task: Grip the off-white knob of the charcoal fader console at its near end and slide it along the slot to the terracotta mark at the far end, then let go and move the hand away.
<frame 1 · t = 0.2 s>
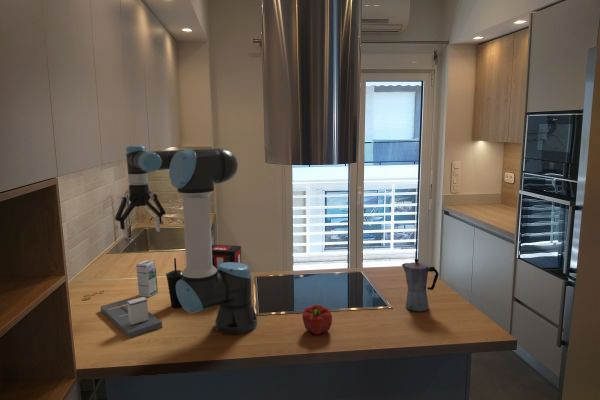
hand: (142, 234, 183), 28 cm above the counter, tool pointing down, fingers open, 13 cm apart
cleaning product box: (221, 292, 193), on the counter
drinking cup: (177, 306, 178), on the counter
syrup box: (148, 294, 190), on the counter
fader knob: (138, 310, 159), point 6 cm above the counter, slide at -9.0 cm
fader console: (130, 318, 167), on the counter
moka pot: (418, 308, 174), on the counter
vegetable: (317, 333, 154), on the counter
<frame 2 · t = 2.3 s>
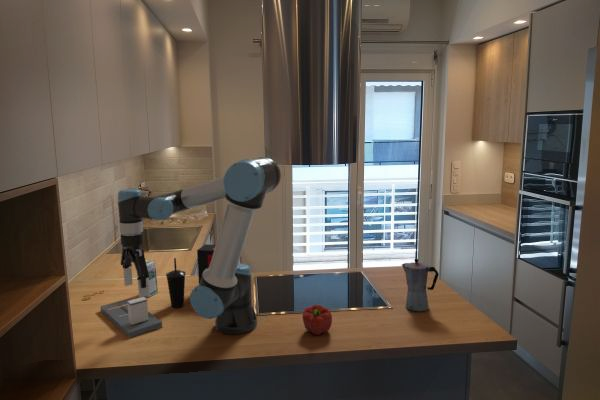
hand: (135, 290, 158), 14 cm above the counter, tool pointing down, fingers open, 13 cm apart
nothing on the counter moved.
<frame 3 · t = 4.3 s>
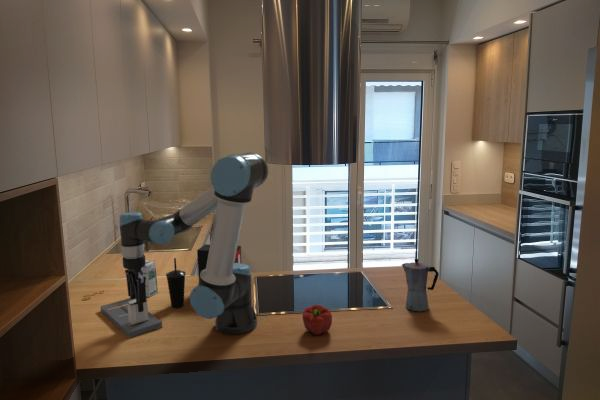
hand: (138, 317, 159), 4 cm above the counter, tool pointing down, fingers closed on fader knob, 3 cm apart
fader knob: (137, 310, 159), point 6 cm above the counter, slide at -9.0 cm, touching gripper
everything else where it was.
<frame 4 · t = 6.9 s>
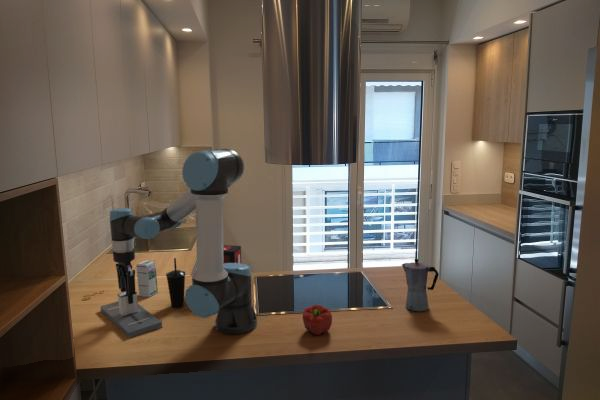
hand: (128, 309, 166), 4 cm above the counter, tool pointing down, fingers closed on fader knob, 3 cm apart
fader knob: (128, 302, 166), point 6 cm above the counter, slide at 0.8 cm, touching gripper
everything else where it was.
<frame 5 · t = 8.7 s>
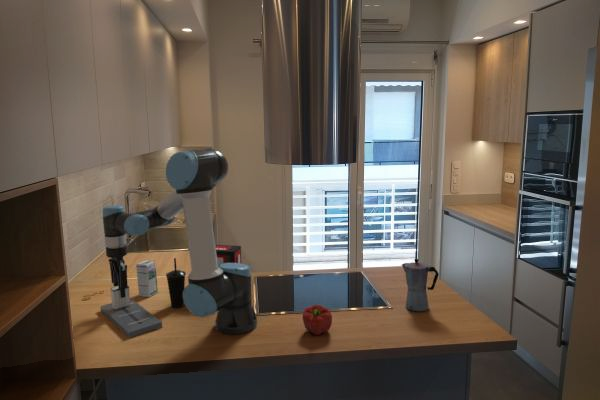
hand: (121, 303, 172), 4 cm above the counter, tool pointing down, fingers closed on fader knob, 3 cm apart
fader knob: (120, 296, 172), point 6 cm above the counter, slide at 8.7 cm, touching gripper
everything else where it was.
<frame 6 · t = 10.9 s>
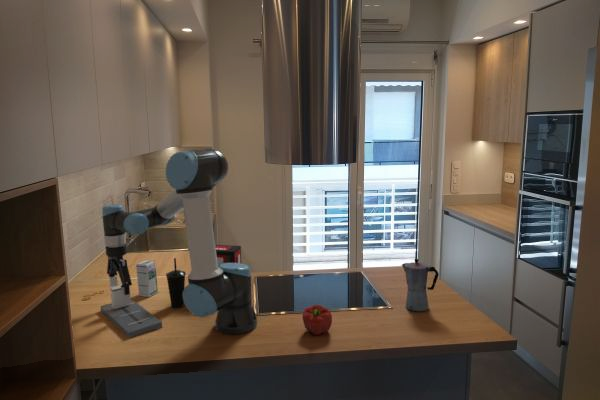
hand: (120, 297, 172), 6 cm above the counter, tool pointing down, fingers open, 13 cm apart
fader knob: (120, 296, 172), point 6 cm above the counter, slide at 9.0 cm
everything else where it was.
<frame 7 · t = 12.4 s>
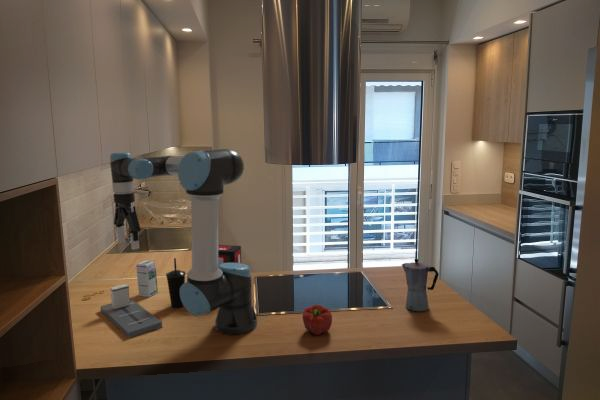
hand: (128, 245, 173), 26 cm above the counter, tool pointing down, fingers open, 13 cm apart
nothing on the counter moved.
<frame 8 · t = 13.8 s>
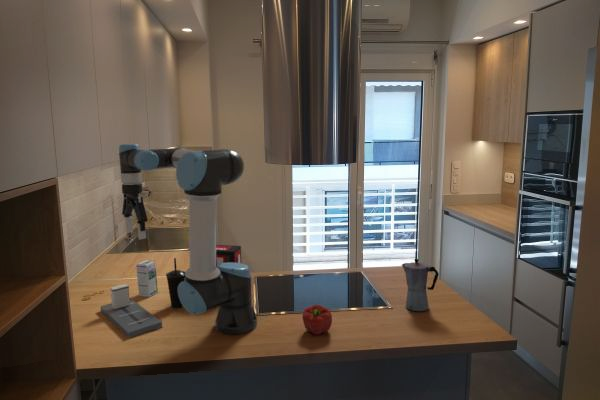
hand: (135, 235, 176), 29 cm above the counter, tool pointing down, fingers open, 13 cm apart
nothing on the counter moved.
at the end: fader knob slide at 9.0 cm; the gripper is holding nothing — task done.
